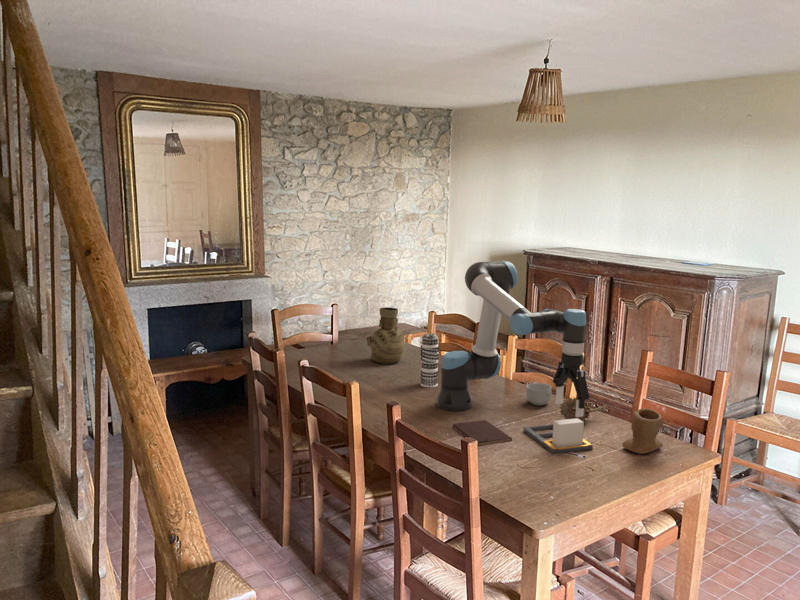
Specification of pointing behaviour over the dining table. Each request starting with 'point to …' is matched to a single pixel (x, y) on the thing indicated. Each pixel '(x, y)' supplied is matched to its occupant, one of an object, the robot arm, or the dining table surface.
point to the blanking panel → (567, 433)
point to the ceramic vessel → (387, 338)
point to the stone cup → (644, 431)
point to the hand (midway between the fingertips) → (568, 409)
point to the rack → (548, 443)
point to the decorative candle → (429, 360)
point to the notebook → (482, 432)
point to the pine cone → (570, 409)
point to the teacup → (538, 393)
